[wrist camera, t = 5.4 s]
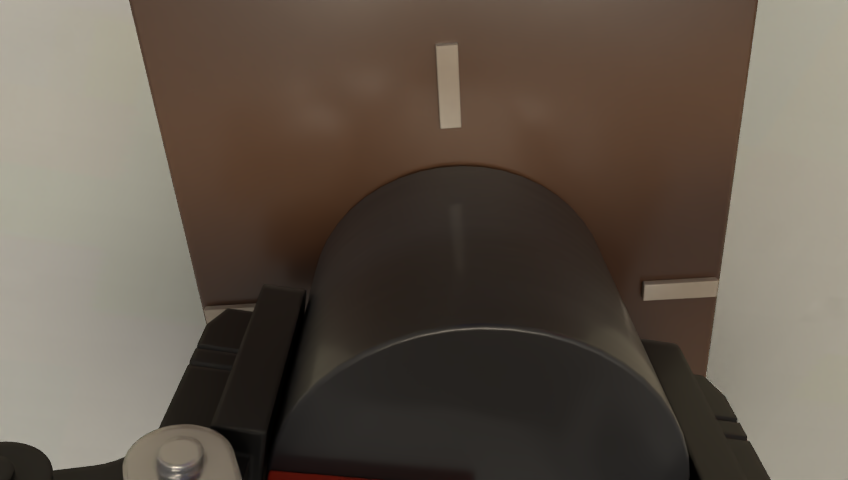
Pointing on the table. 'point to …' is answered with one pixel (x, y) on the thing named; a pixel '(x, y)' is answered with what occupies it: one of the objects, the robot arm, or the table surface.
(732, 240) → the table surface
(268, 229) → the dial panel
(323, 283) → the knob
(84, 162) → the table surface
